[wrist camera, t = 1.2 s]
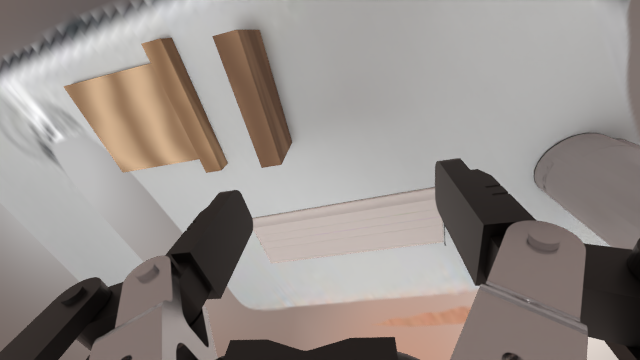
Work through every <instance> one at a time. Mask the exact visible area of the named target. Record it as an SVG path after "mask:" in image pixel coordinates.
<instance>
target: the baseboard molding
mask: <svg viewBox="0 0 640 360" xmlns="http://www.w3.org/2000/svg"><path fill="white" fill-rule="evenodd" d="M252 219H253V230H254V232H255V233H256V235H257V238H258V239H259V241H260V243H261V245H262V246H263V248H264V251H265V253H266V255H267V257H268V258H269V260H270V262H271V263H279V262H287V261H295V260H303V259H311V258H319V257H327V256H335V255H343V254H351V253H359V252H367V251H376V250H384V249H392V248H400V247H408V246H416V245H424V244H432V243H440V242H443V224H442V218H441V216H440V214H439V212H438V210H437V206H436V201H435V187H432V188H426V189H420V190H414V191H408V192H403V193H397V194H391V195H385V196H379V197H373V198H367V199H361V200H356V201H350V202H344V203H338V204H332V205H326V206H320V207H315V208H309V209H303V210H297V211H291V212H285V213H279V214H273V215H268V216H262V217H256V218H252ZM445 227H446V226H445V225H444V235H445ZM444 244H445V243H444Z"/></svg>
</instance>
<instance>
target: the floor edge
mask: <svg viewBox="0 0 640 360" xmlns="http://www.w3.org/2000/svg"><path fill="white" fill-rule="evenodd" d="M142 46H143V48H144V50H145V52H146V54H147V56H148V58H149V60H150V62H151V63H150V64H146V65H142V66H139V67H135V68H131V69H127V70H124V71H120V72H116V73H112V74H109V75H105V76H101V77H97V78H94V79H90V80H86V81H82V82H79V83H75V84H71V85H67V86H64V88H65V90H66V91H67V92H68V94H69V95H70V97H71V98H72V100H73V101H74V103H75V104H76V105H77V107H78V108H79V110H80V111H81V113H82V114H83V116H84V117H85V118H86V120H87V121H88V123H89V124H90V126H91V127H92V129H93V130H94V131H95V133H96V134H97V136H98V137H99V139H100V140H101V142H102V143H103V144H104V146H105V147H106V149H107V150H108V152H109V153H110V155H111V156H112V157H113V159H114V160H115V162H116V163H117V165H118V166H119V167H120V169H121V170H122V172H129V171H134V170H140V169H146V168H151V167H157V166H163V165H168V164H174V163H180V162H186V161H191V160H197V159H200V161H201V163H202V165H203V167H204V169H205V171H206V173H207V172H214V171H220V170H222V169H223V168H224V167H225V166H226V165H227V164H228V163H227V161H226V158H225V156H224V154H223V152H222V150H221V147H220V145H219V143H218V141H217V138H216V136H215V134H214V132H213V129H212V127H211V125H210V123H209V120H208V118H207V116H206V114H205V111H204V109H203V107H202V105H201V102H200V100H199V98H198V96H197V94H196V91H195V89H194V87H193V85H192V82H191V80H190V78H189V76H188V73H187V71H186V69H185V67H184V64H183V62H182V60H181V58H180V55H179V53H178V51H177V49H176V47H175V44H174V42H173V40H172V38H163V39H157V40H153V41H150V42H146V43H143V44H142Z"/></svg>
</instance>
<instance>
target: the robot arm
mask: <svg viewBox="0 0 640 360" xmlns="http://www.w3.org/2000/svg"><path fill="white" fill-rule="evenodd" d="M534 178H535V182H536V184H537V186H538V187H539V188H540V189H541V190H542V191H544V192H545V193H546V194H547V195H549V196H550V197H551V198H552V199H553V200H555V201H556V202H557V203H558V204H559V205H561V206H562V207H563V208H564V209H565V210H567V211H568V212H569V213H570V214H572V215H573V216H574V217H575V218H577V219H578V220H579V221H580V222H582V223H583V224H584V225H585V226H586V227H588V228H589V229H590V230H591V231H593V232H594V233H595V234H596V235H598V236H599V237H600V238H601V239H603V240H604V241H605V242H606V243H607V244H609V245H610V246H611V247H607V246H599V245H591V244H584V243H583V242H582V241H581V240H580V239H579V238H578V237H577V236H576V235H575V234H573V233H572V232H570V231H568V230H567V229H564V228H562V227H560V226H557V225H554V224H551V223H547V222H542V221H536V220H535V219H534V218H533V217H532V216H531V215H530V214H529V213H528V212H527V211H526V210H525V209H524V208H523V207H522V206H521V205H520V204H519V203H518V202H517V201H516V200H515V199H514V198H513V197H512V196H511V195H510V194H508V192H507V191H506V190H505V189H504V188H503V187H502V186H500V184H499V183H498V182H497V181H496V180H495V179H494V178H493V177H492V176H491V175H489V174H487V173H485V172H483V171H480V170H478V169H476V170H470V169H469V168H468V167H467V166H466V164H465V163H464V162H463V161H462V160H461V159H460V158H457V159H450V160H443V161H437V162H436V166H435V201H436V206H437V210H438V212H439V214H440V216H441V218H442V220H443V222H444V224H445V226H446V228H447V230H448V232H449V234H450V236H451V238H452V240H453V242H454V244H455V246H456V248H457V250H458V252H459V254H460V256H461V258H462V260H463V262H464V264H465V266H466V268H467V270H468V272H469V274H470V276H471V278H472V280H473V282H474V284H475V286H479V285H481V286H480V288H479V290H478V292H477V295H476V297H475V300H474V302H473V305H472V307H471V310H470V312H469V314H468V317H467V319H466V322H465V324H464V327H463V329H462V332H461V334H460V337H459V339H458V341H457V344H456V346H455V349H454V351H453V354H452V356H451V359H450V360H587V345H588V337H592V338H596V339H600V340H604V341H605V342H606V344H607V345H608V346H609V347H610V349H611V350H612V351H613V353H614V354H615V355H616V357H617V358H618V359H619V360H640V146H639V145H636V144H634V143H631V142H629V141H626V140H623V139H618V140H615V139H613V138H610V137H608V136H605V135H602V134H598V133H587V134H580V135H577V136H573V137H570V138H568V139H566V140H564V141H562V142H560V143H558V144H557V145H555V146H554V147H553V148H551V149H550V150H549V151H548V152H547V153H546V154H545V155H544V156H543V157H542V158H541V160H540V161H539V163H538V164H537V167H536V170H535V176H534ZM252 231H253V219H252V217H251V214H250V212H249V210H248V208H247V205H246V203H245V201H244V199H243V197H242V194H241V193H240V192H239V191H238V190H233V191H226V192H220V193H219V194H218V195H217V196H216V197H215V198H214V200H213V201H212V202H211V203H210V205H209V206H208V207H207V208H206V209H204V210H203V211H202V212H200V213H199V215H198V216H197V217H196V218H195V219H194V221H193V223H191V224H190V226H189V227H188V228H187V231H185V232H184V233H183V234H182V235H181V237H180V238H179V239H178V240H177V242H176V243H175V244H174V246H173V247H172V248H171V249H170V250H169V251H168V253H167V254H166V255H165V256H157V257H154V258H151V259H149V260H147V261H145V262H143V263H142V264H140V265H139V266H137V267H136V268H135V269H134V270H133V271H132V272H131V273H130V274H129V275H128V276H127V277H126V279H125V280H124V282H122V283H119V284H116V285H113V286H110V287H107V286H106V284H105V283H104V282H103V281H102V280H101V279H99V278H97V277H94V278H89V279H86V280H83V281H81V282H79V283H77V284H75V285H74V286H72V287H70V288H69V289H68V290H66V291H65V292H63V293H62V294H61V295H60V296H58V297H57V298H56V299H55V300H54V301H53V302H52V303H51V304H50V305H49V306H48V307H47V308H46V309H45V310H44V311H43V312H42V313H41V314H40V315H39V316H37V317H36V318H35V319H34V320H33V321H32V322H31V323H30V324H29V325H28V326H27V327H26V328H25V329H24V330H23V331H22V332H21V333H20V334H19V335H18V336H17V337H16V338H14V339H13V341H11V342H10V343H9V344H8V345H7V346H6V347H5V348H4V349H3V350H2V351H1V352H0V360H58V359H59V358H60V357H61V356H62V355H63V354H64V352H65V351H66V350H67V349H68V348H69V346H70V345H71V344H72V343H73V342H74V340H75V339H76V340H78V341H79V342H80V343H81V344H83V345H84V346H85V347H87V348H88V349H89V350H90V351H91V353H90V355H89V356H88V358H87V359H86V360H419V359H417V358H415V357H412V356H410V355H408V354H404V353H401V352H397V349H396V342H395V337H380V338H379V337H378V338H349V339H346V340H342V341H339V342H336V343H333V344H329V345H326V346H323V347H319V348H316V349H313V350H309V351H303V350H299V349H295V348H292V347H289V346H286V345H283V344H280V343H276V342H273V341H270V340H230V343H229V346H228V349H227V351H226V354H225V356H222V357H220V358H218V357H217V354H216V350H215V346H214V341H213V336H212V331H211V326H210V322H209V317H208V312H207V309H206V308H205V306H204V303H205V301H206V300H207V299H220V298H221V297H222V295H223V293H224V290H225V288H226V286H227V284H228V282H229V280H230V278H231V276H232V274H233V271H234V269H235V267H236V265H237V263H238V261H239V259H240V257H241V255H242V252H243V250H244V248H245V246H246V244H247V242H248V240H249V238H250V236H251V234H252Z"/></svg>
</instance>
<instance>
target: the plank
mask: <svg viewBox="0 0 640 360" xmlns="http://www.w3.org/2000/svg"><path fill="white" fill-rule="evenodd" d="M213 39H214V42H215V44H216V47H217V50H218V52H219V55H220V58H221V60H222V63H223V66H224V68H225V71H226V74H227V76H228V79H229V82H230V84H231V87H232V90H233V92H234V95H235V98H236V100H237V103H238V106H239V108H240V111H241V114H242V116H243V119H244V122H245V124H246V127H247V130H248V132H249V135H250V138H251V140H252V143H253V146H254V148H255V151H256V154H257V156H258V159H259V162H260V164H261V167H262V168H263V167H269V166H276V165H281V164H282V162H283V160H284V158H285V156H286V154H287V152H288V150H289V148H290V146H291V144H292V140H291V137H290V133H289V130H288V126H287V123H286V120H285V116H284V113H283V109H282V106H281V102H280V99H279V95H278V92H277V89H276V85H275V82H274V78H273V75H272V71H271V68H270V64H269V61H268V58H267V54H266V51H265V47H264V44H263V40H262V37H261V33H260V30H234V31H230V32H227V33H223V34H219V35H216V36H213Z"/></svg>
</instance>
